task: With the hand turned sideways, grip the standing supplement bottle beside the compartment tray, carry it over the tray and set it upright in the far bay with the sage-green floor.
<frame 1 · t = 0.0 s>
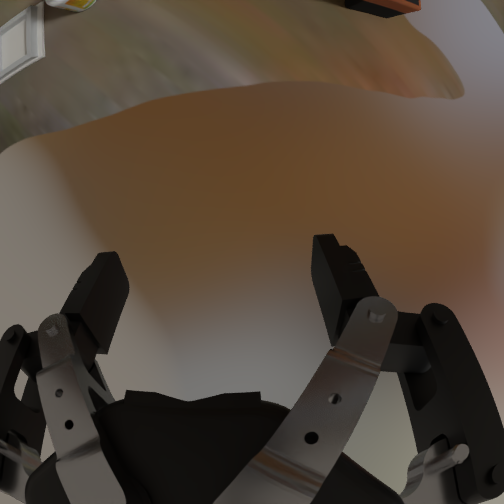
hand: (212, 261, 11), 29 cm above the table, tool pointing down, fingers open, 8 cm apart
compartment tray: (2, 55, 21), on the table
battery: (365, 1, 24), on the table
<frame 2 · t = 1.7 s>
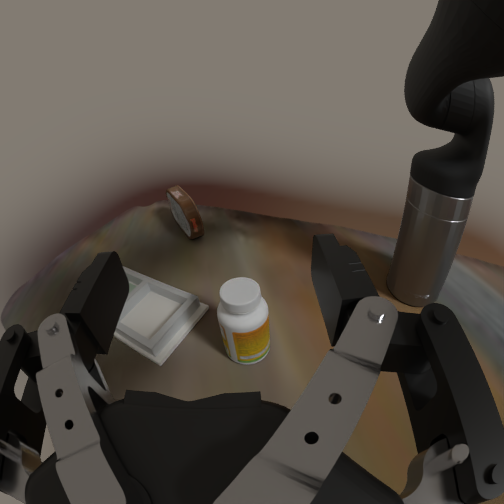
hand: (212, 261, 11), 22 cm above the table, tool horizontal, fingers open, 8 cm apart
compartment tray: (133, 308, 39), on the table
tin: (187, 229, 57), on the table
supplement bottle: (247, 348, 33), on the table
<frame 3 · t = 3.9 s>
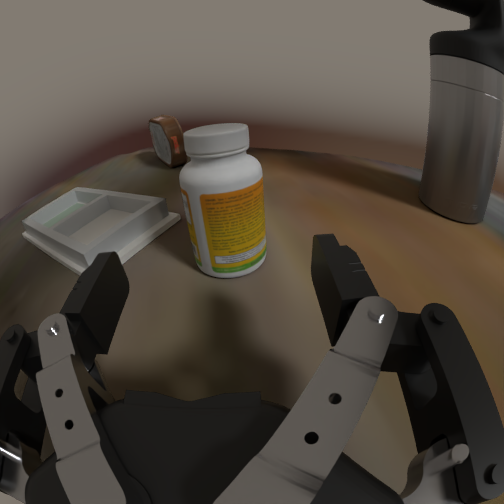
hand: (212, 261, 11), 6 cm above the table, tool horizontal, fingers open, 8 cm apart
compartment tray: (85, 229, 28), on the table
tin: (169, 163, 46), on the table
supplement bottle: (231, 259, 22), on the table
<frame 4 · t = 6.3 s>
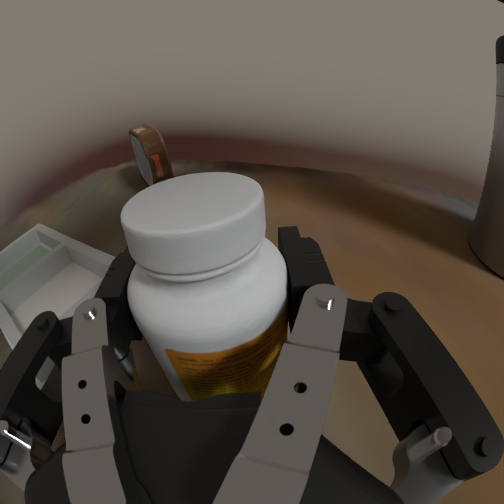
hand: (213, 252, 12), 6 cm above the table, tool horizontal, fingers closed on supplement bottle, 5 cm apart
compartment tray: (42, 290, 19), on the table
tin: (154, 184, 38), on the table
supplement bottle: (231, 381, 13), on the table, touching gripper
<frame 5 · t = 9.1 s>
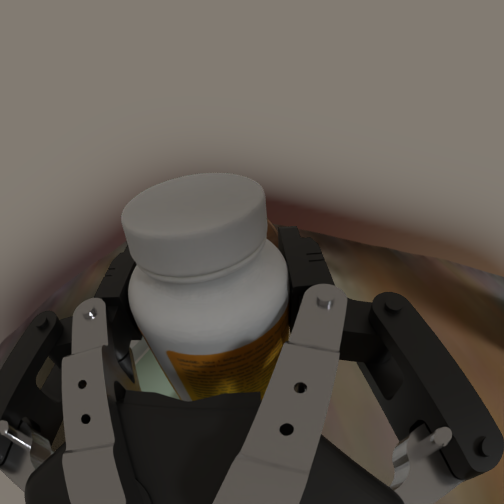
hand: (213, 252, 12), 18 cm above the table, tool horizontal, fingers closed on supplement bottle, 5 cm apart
compartment tray: (194, 411, 22), on the table
supplement bottle: (232, 382, 13), point 12 cm above the table, touching gripper
when the fingers open (7 cm above the table, at t = 12.2 s): supplement bottle stays where it is, resting on compartment tray.
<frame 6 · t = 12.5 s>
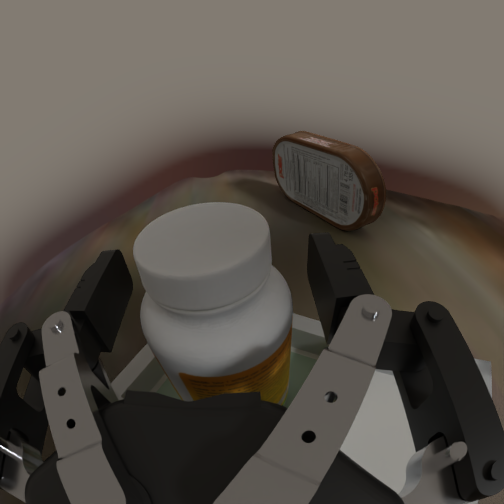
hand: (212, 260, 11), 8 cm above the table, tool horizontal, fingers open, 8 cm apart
compartment tray: (311, 424, 12), on the table
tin: (319, 213, 30), on the table
supplement bottle: (236, 393, 14), resting on compartment tray
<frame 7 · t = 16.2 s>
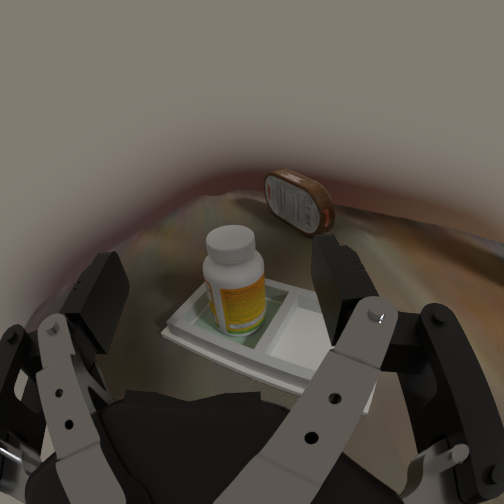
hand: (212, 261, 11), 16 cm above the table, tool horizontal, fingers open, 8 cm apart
compartment tray: (277, 335, 27), on the table
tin: (294, 225, 46), on the table
supplement bottle: (239, 319, 28), resting on compartment tray
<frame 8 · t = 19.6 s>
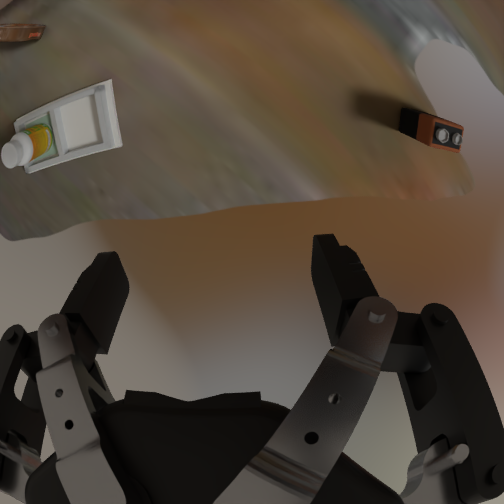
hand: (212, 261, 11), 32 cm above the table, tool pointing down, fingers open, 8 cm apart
compartment tray: (63, 129, 34), on the table
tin: (25, 31, 22), on the table
battery: (414, 122, 37), on the table
supplement bottle: (44, 137, 34), resting on compartment tray
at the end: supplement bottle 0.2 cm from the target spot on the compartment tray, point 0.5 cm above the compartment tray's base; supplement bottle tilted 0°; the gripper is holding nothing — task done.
